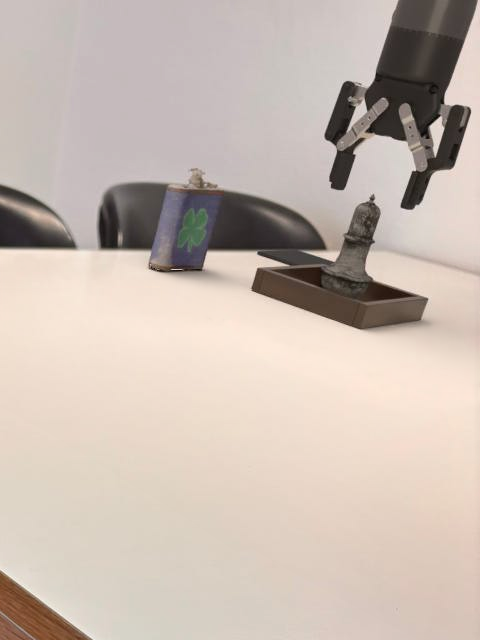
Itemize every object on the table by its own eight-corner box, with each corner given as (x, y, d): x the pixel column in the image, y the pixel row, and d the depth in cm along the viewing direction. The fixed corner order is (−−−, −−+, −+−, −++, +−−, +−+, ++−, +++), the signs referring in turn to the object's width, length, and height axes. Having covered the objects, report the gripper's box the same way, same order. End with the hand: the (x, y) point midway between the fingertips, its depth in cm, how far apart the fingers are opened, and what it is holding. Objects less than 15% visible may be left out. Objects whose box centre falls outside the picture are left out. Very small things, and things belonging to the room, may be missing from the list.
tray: (316, 284, 131) (323, 263, 129) (420, 320, 123) (429, 298, 122) (250, 290, 120) (257, 267, 119) (359, 329, 113) (368, 305, 112)
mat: (295, 252, 149) (296, 249, 148) (358, 273, 143) (359, 269, 143) (256, 254, 142) (257, 250, 142) (321, 275, 136) (322, 272, 136)
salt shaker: (311, 304, 120) (348, 191, 113) (310, 294, 125) (345, 185, 118) (363, 316, 119) (403, 203, 113) (360, 305, 124) (398, 196, 118)
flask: (159, 272, 120) (184, 170, 114) (139, 265, 122) (163, 164, 116) (208, 270, 126) (234, 173, 120) (188, 263, 128) (213, 167, 122)
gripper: (509, 46, 106) (445, 216, 115) (382, 23, 114) (331, 184, 122) (480, 37, 101) (415, 216, 110) (349, 13, 109) (297, 182, 117)
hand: (371, 198), depth 116 cm, fingers open, 8 cm apart
